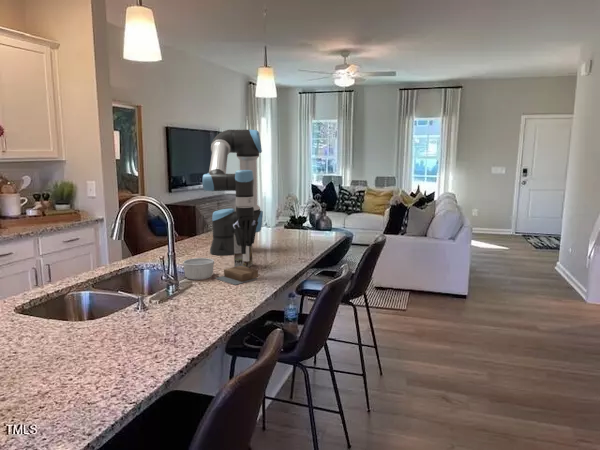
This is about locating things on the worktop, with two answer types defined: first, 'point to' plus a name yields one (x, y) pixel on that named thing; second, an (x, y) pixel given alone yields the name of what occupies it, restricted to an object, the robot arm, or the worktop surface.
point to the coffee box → (241, 256)
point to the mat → (232, 281)
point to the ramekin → (198, 268)
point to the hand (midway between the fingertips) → (246, 260)
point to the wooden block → (241, 273)
